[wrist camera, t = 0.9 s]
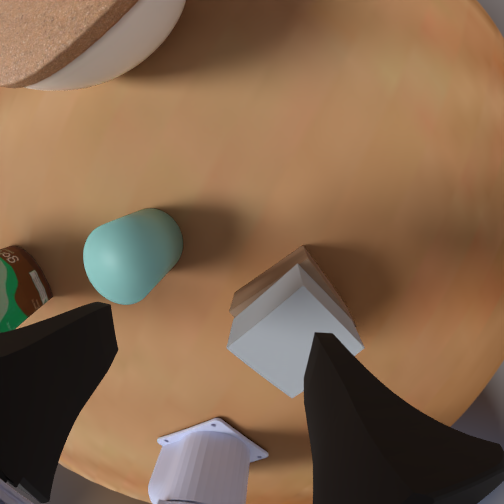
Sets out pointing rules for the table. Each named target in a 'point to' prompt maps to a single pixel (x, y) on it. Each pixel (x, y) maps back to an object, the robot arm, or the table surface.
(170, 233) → the teal rounded piece
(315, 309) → the tower top
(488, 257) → the table surface
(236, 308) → the tower base
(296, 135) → the table surface
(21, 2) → the lidded bowl
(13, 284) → the food container
